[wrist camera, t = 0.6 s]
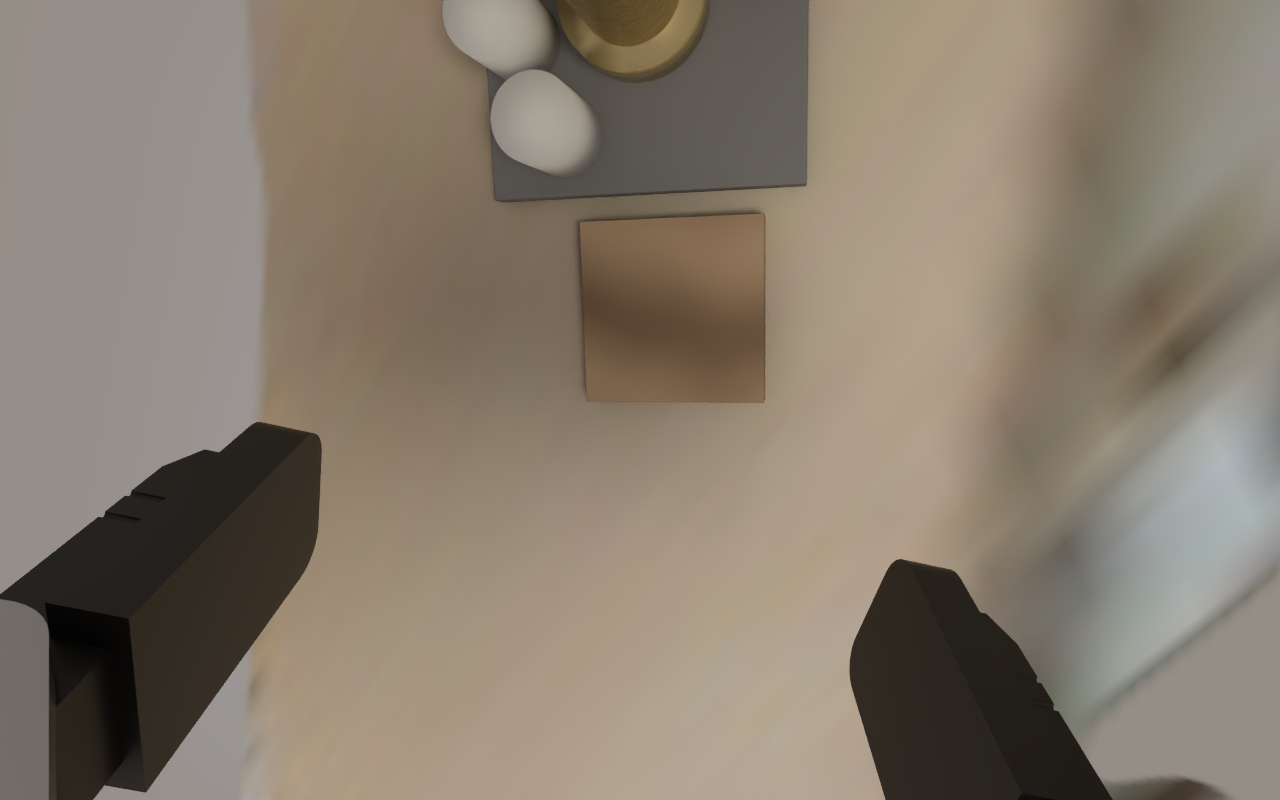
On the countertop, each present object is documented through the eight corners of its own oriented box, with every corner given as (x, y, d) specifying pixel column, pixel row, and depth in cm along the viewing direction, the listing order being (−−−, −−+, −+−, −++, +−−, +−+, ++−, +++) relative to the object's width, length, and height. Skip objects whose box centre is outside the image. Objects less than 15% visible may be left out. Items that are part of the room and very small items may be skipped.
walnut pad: (586, 223, 29) (579, 221, 28) (765, 215, 27) (764, 213, 26) (593, 397, 30) (586, 401, 29) (764, 398, 28) (763, 402, 27)
